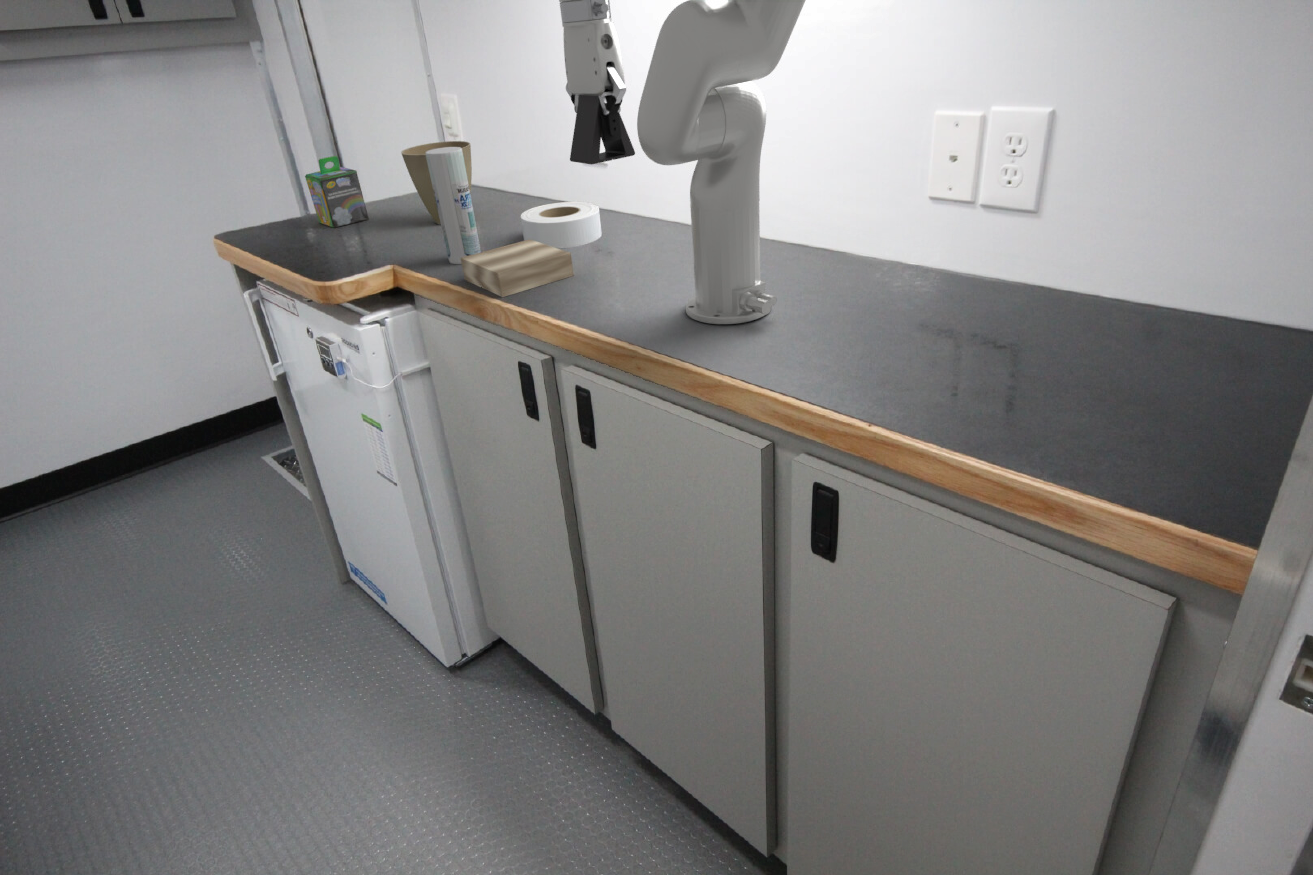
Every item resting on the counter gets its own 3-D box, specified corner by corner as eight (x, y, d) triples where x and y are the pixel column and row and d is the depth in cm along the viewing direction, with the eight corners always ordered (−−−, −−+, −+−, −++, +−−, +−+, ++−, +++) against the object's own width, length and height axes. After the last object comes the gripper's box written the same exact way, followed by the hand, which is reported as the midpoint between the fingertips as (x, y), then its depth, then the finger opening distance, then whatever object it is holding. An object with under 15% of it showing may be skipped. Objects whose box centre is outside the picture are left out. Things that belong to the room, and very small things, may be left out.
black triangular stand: (589, 165, 125) (579, 82, 120) (570, 161, 130) (559, 82, 124) (635, 155, 130) (627, 75, 124) (614, 152, 134) (606, 75, 129)
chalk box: (354, 215, 194) (337, 151, 186) (370, 219, 188) (353, 154, 180) (317, 223, 188) (298, 159, 181) (333, 229, 182) (314, 162, 175)
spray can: (456, 254, 155) (434, 147, 145) (487, 253, 154) (467, 146, 144) (442, 264, 149) (418, 154, 140) (474, 264, 148) (452, 152, 138)
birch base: (573, 275, 137) (570, 253, 135) (502, 297, 130) (498, 273, 128) (533, 260, 147) (529, 239, 145) (464, 279, 140) (460, 257, 138)
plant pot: (416, 218, 185) (399, 147, 177) (479, 209, 188) (466, 138, 180) (419, 233, 172) (402, 157, 165) (487, 222, 176) (473, 147, 168)
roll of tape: (617, 237, 158) (614, 209, 155) (547, 255, 150) (542, 226, 148) (578, 224, 169) (575, 197, 166) (511, 240, 162) (507, 213, 159)
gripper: (639, 8, 116) (651, 138, 124) (575, 15, 128) (590, 132, 137) (597, 13, 112) (612, 146, 120) (535, 19, 124) (553, 140, 133)
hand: (600, 138), depth 128 cm, fingers closed on black triangular stand, 6 cm apart
